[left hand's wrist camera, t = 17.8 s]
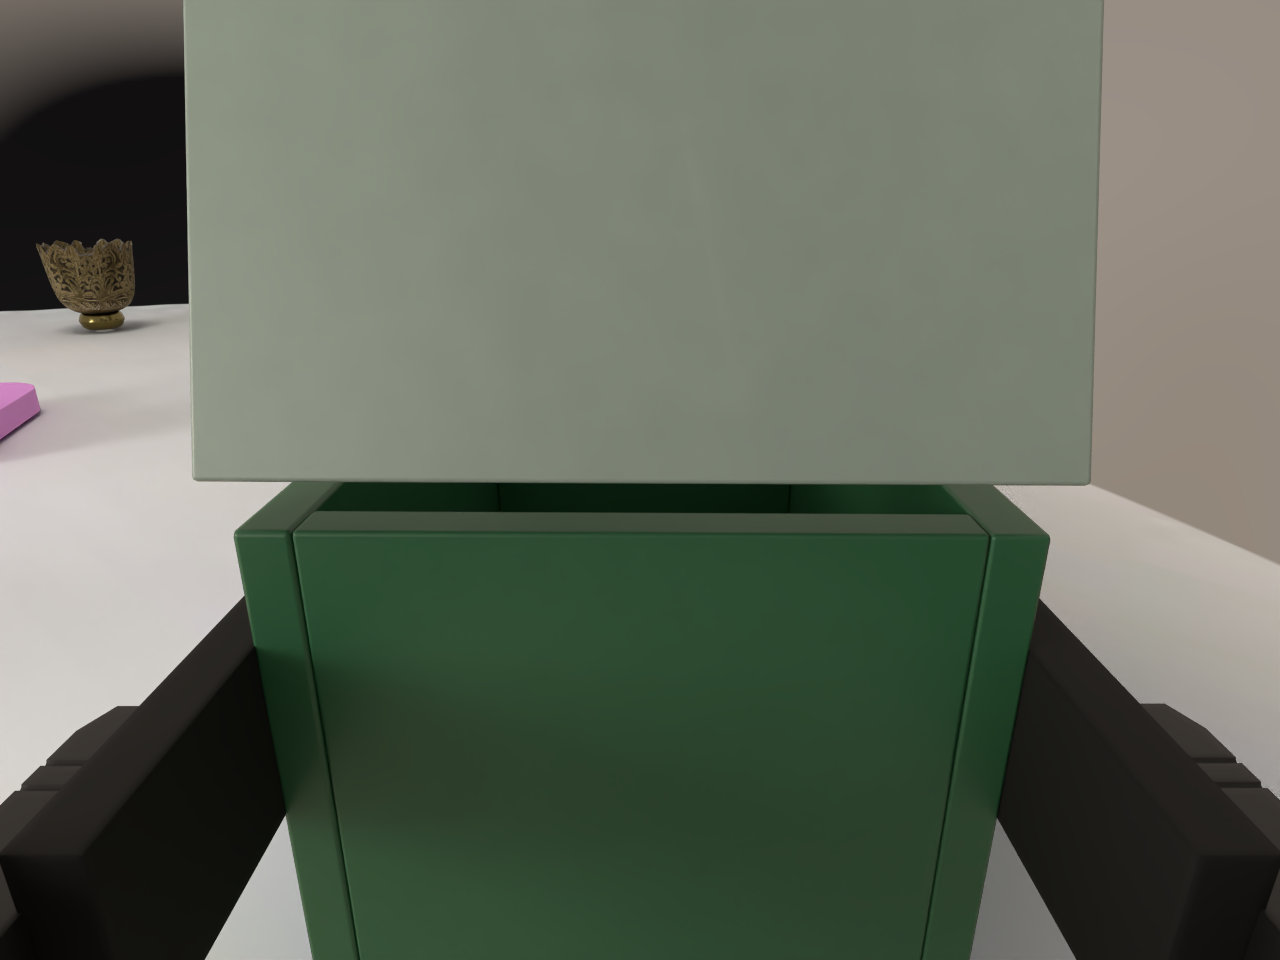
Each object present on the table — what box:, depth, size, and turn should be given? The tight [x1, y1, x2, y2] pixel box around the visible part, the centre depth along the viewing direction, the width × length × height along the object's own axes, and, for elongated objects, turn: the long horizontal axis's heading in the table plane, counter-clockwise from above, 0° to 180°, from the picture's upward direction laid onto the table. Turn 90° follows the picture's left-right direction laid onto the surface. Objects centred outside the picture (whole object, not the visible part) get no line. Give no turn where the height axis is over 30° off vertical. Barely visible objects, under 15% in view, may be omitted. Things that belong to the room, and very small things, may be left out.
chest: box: [234, 482, 1050, 960], centre depth 18 cm, size 14×10×9 cm
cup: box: [36, 239, 135, 330], centre depth 77 cm, size 7×7×8 cm
